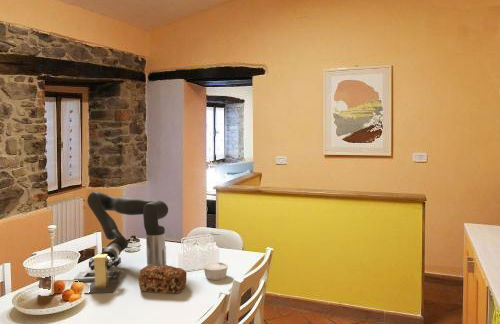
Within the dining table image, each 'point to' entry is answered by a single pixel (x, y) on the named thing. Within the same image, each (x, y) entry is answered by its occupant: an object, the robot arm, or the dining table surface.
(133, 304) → the dining table surface
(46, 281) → the figurine
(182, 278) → the bread
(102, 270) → the pale yellow block
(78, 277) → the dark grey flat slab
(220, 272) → the ramekin
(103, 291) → the rubber mat
